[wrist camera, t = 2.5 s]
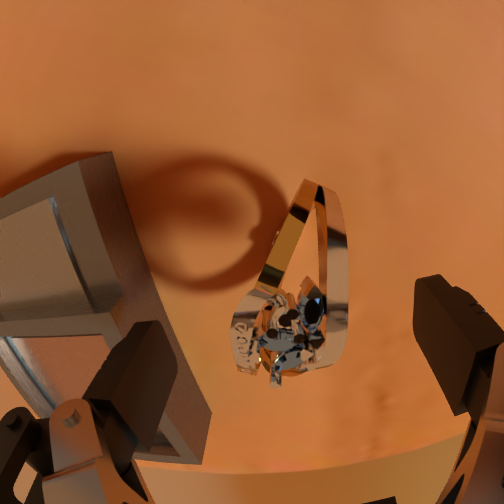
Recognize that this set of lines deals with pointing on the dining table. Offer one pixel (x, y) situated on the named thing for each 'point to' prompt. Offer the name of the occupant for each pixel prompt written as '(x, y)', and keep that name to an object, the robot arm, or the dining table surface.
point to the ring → (309, 298)
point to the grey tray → (83, 298)
